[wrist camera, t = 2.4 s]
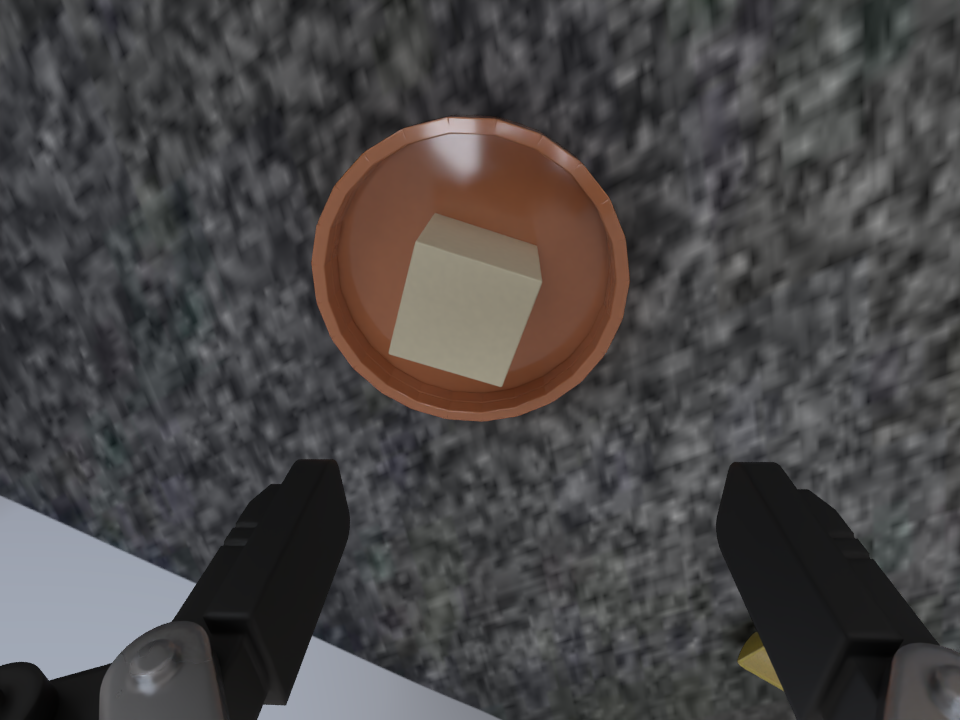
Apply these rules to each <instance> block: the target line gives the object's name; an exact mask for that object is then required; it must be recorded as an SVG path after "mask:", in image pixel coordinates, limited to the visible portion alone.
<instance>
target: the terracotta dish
mask: <svg viewBox="0 0 960 720" xmlns="http://www.w3.org/2000/svg"><path fill="white" fill-rule="evenodd" d="M434 213H437V214H440V215H443V216H446V217H449V218H452V219H456V220H459V221H462V222H465V223H468V224H471V225H474V226H477V227H480V228H483V229H487V230H490V231H493V232H496V233H499V234H502V235H505V236H508V237H511V238H514V239H518V240H521V241H524V242H527V243H530V244H533V245H536V246H537V248H538V255H539V262H540V269H541V276H542V285H541V287H540V290H539V293H538V295H537V298H536V300H535V303H534V305H533V308H532V311H531V313H530V316H529V318H528V321H527V324H526V326H525V329H524V331H523V334H522V337H521V339H520V342H519V344H518V347H517V349H516V352H515V355H514V357H513V360H512V362H511V365H510V368H509V370H508V373H507V375H506V378H505V381H504V383H503V386H502V387H499V386H495V385H492V384H488V383H485V382H482V381H478V380H475V379H471V378H468V377H465V376H461V375H458V374H454V373H451V372H448V371H444V370H441V369H437V368H434V367H431V366H427V365H424V364H420V363H417V362H414V361H410V360H407V359H403V358H400V357H397V356H393V355H390V354H389V348H390V344H391V340H392V336H393V331H394V327H395V323H396V319H397V315H398V311H399V307H400V303H401V299H402V294H403V290H404V286H405V282H406V278H407V274H408V270H409V266H410V261H411V257H412V253H413V249H414V245H415V242H416V240H417V239H418V237H419V236H420V234H421V233H422V231H423V230H424V228H425V227H426V225H427V224H428V222H429V221H430V219H431V218H432V216H433V215H434ZM625 238H626V237H625V235H624V232H623V230H622V227H621V225H620V222H619V220H618V217H617V215H616V212H615V210H614V207H613V205H612V202H611V200H610V199H609V196H608V195H607V194H606V193H605V191H604V190H603V189H602V187H601V186H600V185H599V184H598V182H597V181H596V180H595V179H594V177H593V176H592V175H591V173H590V172H589V171H588V170H587V168H586V167H585V166H584V165H583V163H582V162H581V161H580V160H579V159H578V158H577V157H576V156H575V155H573V154H572V153H570V152H569V151H568V150H566V149H565V148H563V147H562V146H561V145H560V144H558V143H557V142H555V141H554V140H552V139H551V138H549V137H548V136H547V135H545V134H544V133H542V132H540V131H539V130H536V129H533V128H530V127H527V126H525V125H523V124H520V123H517V122H513V121H510V120H507V119H504V118H501V117H496V116H480V115H450V116H446V117H442V118H439V119H434V120H431V121H427V122H423V123H419V124H415V125H412V126H409V127H405V128H403V129H401V130H399V131H397V132H396V133H394V134H392V135H391V136H389V137H387V138H386V139H384V140H383V141H381V142H379V143H378V144H376V145H374V146H373V147H371V148H370V149H368V150H366V151H365V152H364V153H363V154H361V156H360V157H359V158H358V159H357V160H356V161H355V162H354V164H353V165H352V166H351V167H350V168H349V169H348V170H347V171H346V173H345V174H344V175H343V176H342V177H341V178H340V179H339V181H338V182H337V183H336V184H335V186H334V187H333V189H332V192H331V194H330V196H329V198H328V200H327V203H326V205H325V207H324V209H323V211H322V214H321V216H320V218H319V220H318V224H317V226H316V233H315V240H314V247H313V254H312V261H311V264H312V272H313V280H314V287H315V295H316V302H317V305H318V307H319V310H320V312H321V315H322V317H323V320H324V322H325V325H326V327H327V329H328V332H329V334H330V337H332V340H333V342H334V343H335V344H336V346H337V347H338V348H339V350H340V351H341V353H342V354H343V355H344V357H345V358H346V359H347V361H348V362H349V364H350V365H351V366H352V367H353V368H354V370H356V371H357V372H358V373H359V374H360V375H361V376H363V377H364V378H365V379H366V380H367V381H368V382H369V383H371V384H372V385H373V386H374V387H375V388H376V389H378V390H379V391H380V392H381V393H383V394H385V395H386V396H388V397H390V398H392V399H394V400H396V401H398V402H400V403H401V404H403V405H405V406H407V407H409V408H411V409H414V410H417V411H420V412H424V413H427V414H431V415H434V416H438V417H441V418H445V419H447V418H448V419H451V420H466V421H490V420H497V419H503V418H510V417H516V416H520V415H522V414H525V413H527V412H530V411H532V410H535V409H537V408H540V407H542V406H545V405H548V404H550V403H551V402H554V401H555V400H556V399H558V398H559V397H561V396H562V395H564V394H565V393H566V392H568V391H569V390H571V389H572V388H574V387H575V386H576V385H578V384H579V383H580V382H581V381H583V380H584V378H585V377H586V376H587V375H588V374H589V373H590V372H591V370H592V369H593V368H594V367H595V366H596V365H597V363H598V362H599V361H600V360H601V359H602V358H603V357H604V355H605V353H606V352H607V350H608V348H609V346H610V344H611V342H612V340H613V338H614V336H615V334H616V332H617V330H618V328H619V326H620V324H621V322H622V319H623V315H624V310H625V305H626V299H627V294H628V289H629V283H630V281H629V280H630V275H629V265H628V254H627V244H626V239H625Z"/></svg>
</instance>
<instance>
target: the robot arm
mask: <svg viewBox="0 0 960 720" xmlns="http://www.w3.org/2000/svg"><path fill="white" fill-rule="evenodd" d="M349 528H350V515H349V509H348V505H347V501H346V497H345V492H344V488H343V484H342V479H341V475H340V471H339V467H338V464H337V462H336V461H335V460H333V459H299V460H297V461H296V462H295V463H294V464H293V466H292V467H291V469H290V471H289V472H288V474H287V476H286V477H285V479H284V481H283V482H282V484H271V485H269V486H268V487H267V488H266V489H265V490H263V491H262V492H261V493H260V494H259V495H257V496H256V497H255V498H254V499H253V500H252V501H250V502H249V504H248V505H247V507H246V508H245V510H244V511H243V513H242V515H241V516H240V518H239V519H238V521H237V522H236V527H235V528H232V530H231V532H230V533H229V535H228V536H227V538H226V539H225V541H224V546H221V547H220V548H219V550H218V552H217V553H216V555H215V556H214V558H213V559H212V561H211V562H210V564H209V565H208V567H207V569H206V570H205V572H204V573H203V575H202V576H201V578H200V579H199V581H198V582H197V584H196V586H195V587H194V589H193V590H192V592H191V593H190V595H189V596H188V598H187V599H186V601H185V602H184V604H183V606H182V607H181V609H180V610H179V612H178V613H177V615H176V616H175V618H174V619H173V620H172V622H170V623H167V624H163V625H161V626H158V627H156V628H154V629H152V630H150V631H148V632H146V633H144V634H143V635H141V636H140V637H138V638H137V639H136V640H134V641H133V642H132V643H131V644H129V645H128V646H127V647H126V648H125V649H124V650H123V651H122V652H121V653H120V654H119V655H118V656H117V658H116V659H115V660H114V661H113V663H111V664H107V665H104V666H100V667H96V668H93V669H89V670H86V671H82V672H79V673H75V674H71V675H68V676H64V677H60V678H57V679H54V680H50V681H49V680H48V679H47V678H46V676H45V675H44V674H43V673H42V671H41V670H40V669H39V668H38V667H37V666H36V665H34V664H32V663H28V662H15V663H9V664H5V665H2V666H0V720H257V718H258V716H259V713H260V711H261V708H262V706H263V704H266V705H286V704H287V701H288V698H289V696H290V693H291V690H292V688H293V685H294V682H295V680H296V677H297V674H298V672H299V669H300V666H301V664H302V661H303V658H304V655H305V653H306V650H307V648H308V645H309V642H310V640H311V637H312V634H313V632H314V629H315V626H316V624H317V621H318V618H319V616H320V613H321V610H322V607H323V605H324V602H325V599H326V597H327V594H328V591H329V589H330V586H331V583H332V581H333V578H334V575H335V573H336V570H337V567H338V565H339V562H340V559H341V557H342V554H343V551H344V549H345V546H346V543H347V540H348V535H349ZM716 532H717V539H718V543H719V547H720V550H721V552H722V555H723V557H724V559H725V561H726V563H727V566H728V568H729V570H730V572H731V574H732V577H733V579H734V581H735V583H736V586H737V588H738V590H739V592H740V594H741V597H742V599H743V601H744V603H745V606H746V608H747V610H748V612H749V614H750V617H751V619H752V621H753V623H754V626H755V628H756V630H757V632H758V634H759V637H760V639H761V641H762V643H763V646H764V648H765V650H766V652H767V654H768V657H769V659H770V661H771V663H772V666H773V668H774V670H775V672H776V674H777V677H778V679H779V681H780V683H781V686H782V688H783V690H784V692H785V694H786V697H787V699H788V701H789V703H790V706H791V708H792V710H793V712H794V714H795V717H796V719H797V720H960V653H959V652H956V651H954V650H952V649H949V648H946V647H943V646H940V645H939V643H938V642H937V641H936V640H935V639H934V637H933V636H932V635H931V633H930V632H929V631H928V630H927V628H926V627H925V626H924V624H923V623H922V622H921V620H920V619H919V618H918V617H917V615H916V614H915V613H914V611H913V610H912V609H911V607H910V606H909V605H908V604H907V602H906V601H905V600H904V598H903V597H902V596H901V594H900V593H899V592H898V591H897V589H896V588H895V587H894V585H893V584H892V583H891V581H890V580H889V579H888V578H887V576H886V575H885V574H884V572H883V571H882V570H881V568H880V567H879V566H878V565H877V563H876V562H875V561H874V559H870V557H869V553H868V552H867V550H866V549H865V548H864V546H863V545H862V544H861V542H860V541H859V540H858V539H855V538H854V533H853V532H852V531H851V529H850V528H849V527H848V526H847V524H846V523H845V522H844V520H843V519H842V518H841V516H840V515H839V514H838V513H837V511H836V510H835V509H834V508H832V507H831V506H830V505H828V504H827V503H826V502H824V501H823V500H822V499H820V498H819V497H818V496H816V495H815V494H814V493H812V492H811V491H810V490H807V489H797V488H796V487H795V486H794V484H793V483H792V481H791V480H790V479H789V477H788V476H787V474H786V473H785V472H784V470H783V469H782V468H781V466H780V465H778V464H777V463H775V462H734V463H732V464H731V465H730V467H729V470H728V474H727V478H726V482H725V486H724V490H723V494H722V499H721V503H720V507H719V511H718V515H717V520H716Z"/></svg>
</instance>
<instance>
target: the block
mask: <svg viewBox="0 0 960 720" xmlns="http://www.w3.org/2000/svg"><path fill="white" fill-rule="evenodd" d="M541 285H542V276H541V269H540V262H539V255H538V248H537V246H536V245H533V244H530V243H527V242H524V241H521V240H518V239H514V238H511V237H508V236H505V235H502V234H499V233H496V232H493V231H490V230H487V229H483V228H480V227H477V226H474V225H471V224H468V223H465V222H462V221H459V220H456V219H452V218H449V217H446V216H443V215H440V214H437V213H434V215H433V216H432V218H431V219H430V221H429V222H428V224H427V225H426V227H425V228H424V230H423V231H422V233H421V234H420V236H419V237H418V239H417V240H416V242H415V245H414V249H413V253H412V257H411V261H410V266H409V270H408V274H407V278H406V282H405V286H404V290H403V294H402V299H401V303H400V307H399V311H398V315H397V319H396V323H395V327H394V331H393V336H392V340H391V344H390V348H389V354H390V355H393V356H397V357H400V358H403V359H407V360H410V361H414V362H417V363H420V364H424V365H427V366H431V367H434V368H437V369H441V370H444V371H448V372H451V373H454V374H458V375H461V376H465V377H468V378H471V379H475V380H478V381H482V382H485V383H488V384H492V385H495V386H499V387H502V386H503V383H504V381H505V378H506V375H507V373H508V370H509V368H510V365H511V362H512V360H513V357H514V355H515V352H516V349H517V347H518V344H519V342H520V339H521V337H522V334H523V331H524V329H525V326H526V324H527V321H528V318H529V316H530V313H531V311H532V308H533V305H534V303H535V300H536V298H537V295H538V293H539V290H540V287H541Z"/></svg>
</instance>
